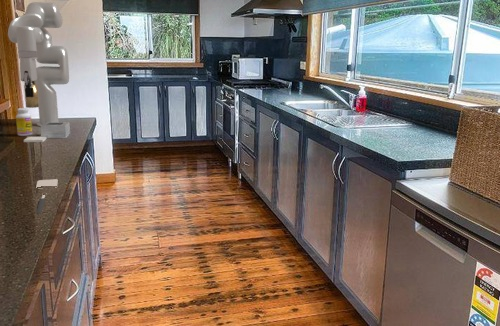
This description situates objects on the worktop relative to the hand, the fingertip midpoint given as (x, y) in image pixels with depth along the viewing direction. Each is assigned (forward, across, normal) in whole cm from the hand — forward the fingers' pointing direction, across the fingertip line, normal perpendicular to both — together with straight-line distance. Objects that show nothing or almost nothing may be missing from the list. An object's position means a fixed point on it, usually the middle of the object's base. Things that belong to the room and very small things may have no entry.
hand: (31, 95), depth 207 cm
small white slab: (+21, +85, +22) cm, 91 cm away
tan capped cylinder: (+5, 0, 0) cm, 5 cm away
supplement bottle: (+21, -14, -8) cm, 26 cm away
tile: (+20, 0, 0) cm, 20 cm away
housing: (+20, -10, +7) cm, 24 cm away
